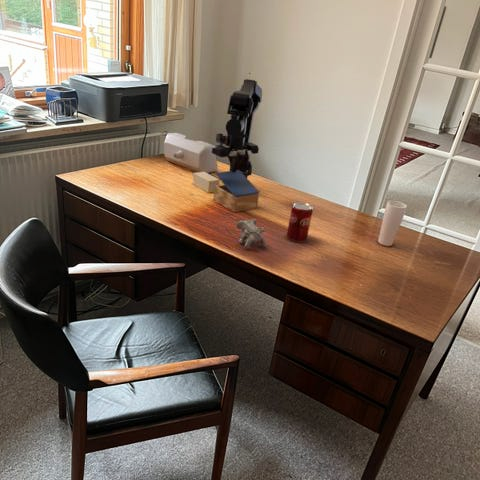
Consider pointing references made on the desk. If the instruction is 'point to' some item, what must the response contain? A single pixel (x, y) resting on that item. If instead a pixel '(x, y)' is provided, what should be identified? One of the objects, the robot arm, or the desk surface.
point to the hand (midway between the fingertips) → (233, 172)
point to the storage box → (234, 199)
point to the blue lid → (237, 183)
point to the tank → (190, 153)
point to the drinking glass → (391, 222)
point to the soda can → (299, 222)
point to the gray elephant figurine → (250, 232)
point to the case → (205, 181)
